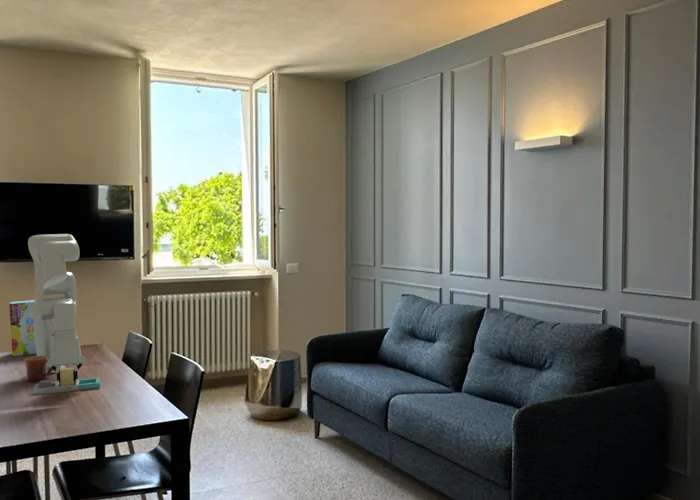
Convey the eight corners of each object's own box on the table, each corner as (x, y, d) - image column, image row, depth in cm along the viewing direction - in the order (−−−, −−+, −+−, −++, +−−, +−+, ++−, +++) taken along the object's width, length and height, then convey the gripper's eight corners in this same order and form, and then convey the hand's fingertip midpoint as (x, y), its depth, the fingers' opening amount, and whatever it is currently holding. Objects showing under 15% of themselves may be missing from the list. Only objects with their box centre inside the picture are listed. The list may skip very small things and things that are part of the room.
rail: (33, 397, 242) (32, 389, 242) (35, 392, 250) (35, 383, 250) (100, 391, 250) (99, 382, 250) (100, 385, 258) (100, 377, 258)
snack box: (61, 348, 330) (58, 298, 329) (61, 352, 322) (58, 300, 321) (12, 353, 322) (10, 301, 320) (11, 356, 314) (8, 303, 312)
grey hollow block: (39, 392, 245) (38, 383, 244) (40, 389, 249) (39, 380, 249) (52, 391, 246) (51, 382, 246) (53, 388, 250) (52, 379, 250)
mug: (19, 385, 261) (18, 359, 260) (37, 379, 269) (35, 355, 268) (43, 387, 257) (42, 361, 256) (60, 381, 265) (59, 356, 264)
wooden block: (60, 390, 247) (60, 370, 247) (61, 387, 251) (61, 368, 251) (73, 389, 249) (73, 369, 248) (74, 386, 253) (73, 367, 252)
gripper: (39, 337, 242) (42, 386, 243) (89, 333, 248) (91, 381, 249) (42, 334, 249) (44, 381, 250) (89, 330, 255) (91, 377, 256)
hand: (67, 381), depth 249 cm, fingers closed on wooden block, 4 cm apart
